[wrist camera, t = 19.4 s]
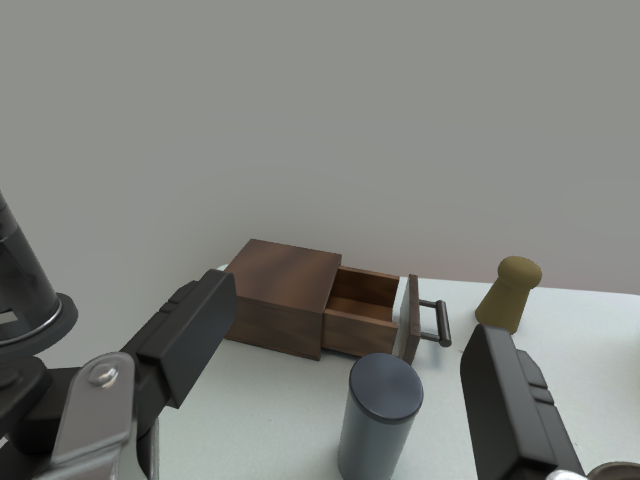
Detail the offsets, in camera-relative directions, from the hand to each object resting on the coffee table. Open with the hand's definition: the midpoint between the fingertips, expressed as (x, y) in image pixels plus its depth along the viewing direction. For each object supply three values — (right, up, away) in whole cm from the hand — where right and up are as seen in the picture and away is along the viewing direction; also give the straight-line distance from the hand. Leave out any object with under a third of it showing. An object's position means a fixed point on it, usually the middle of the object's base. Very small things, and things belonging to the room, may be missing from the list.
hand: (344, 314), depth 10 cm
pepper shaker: (+27, -10, +37) cm, 47 cm away
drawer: (+7, -10, +33) cm, 35 cm away
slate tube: (+4, -19, +20) cm, 28 cm away
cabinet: (-7, -9, +36) cm, 38 cm away
